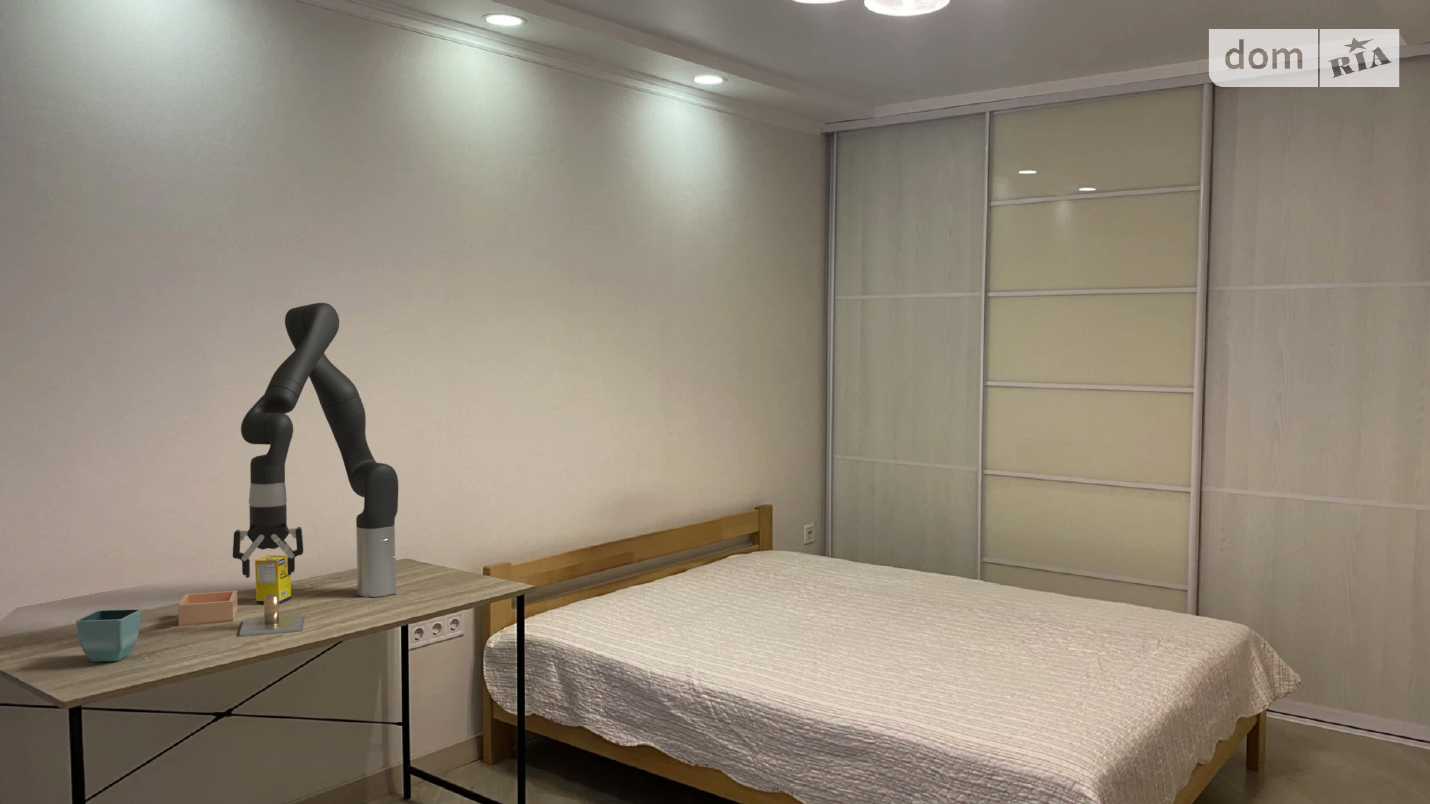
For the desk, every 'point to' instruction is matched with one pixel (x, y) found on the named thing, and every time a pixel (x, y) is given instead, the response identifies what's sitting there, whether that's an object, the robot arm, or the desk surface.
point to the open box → (207, 608)
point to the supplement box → (272, 578)
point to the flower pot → (109, 633)
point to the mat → (274, 633)
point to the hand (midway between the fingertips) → (268, 575)
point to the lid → (271, 620)
